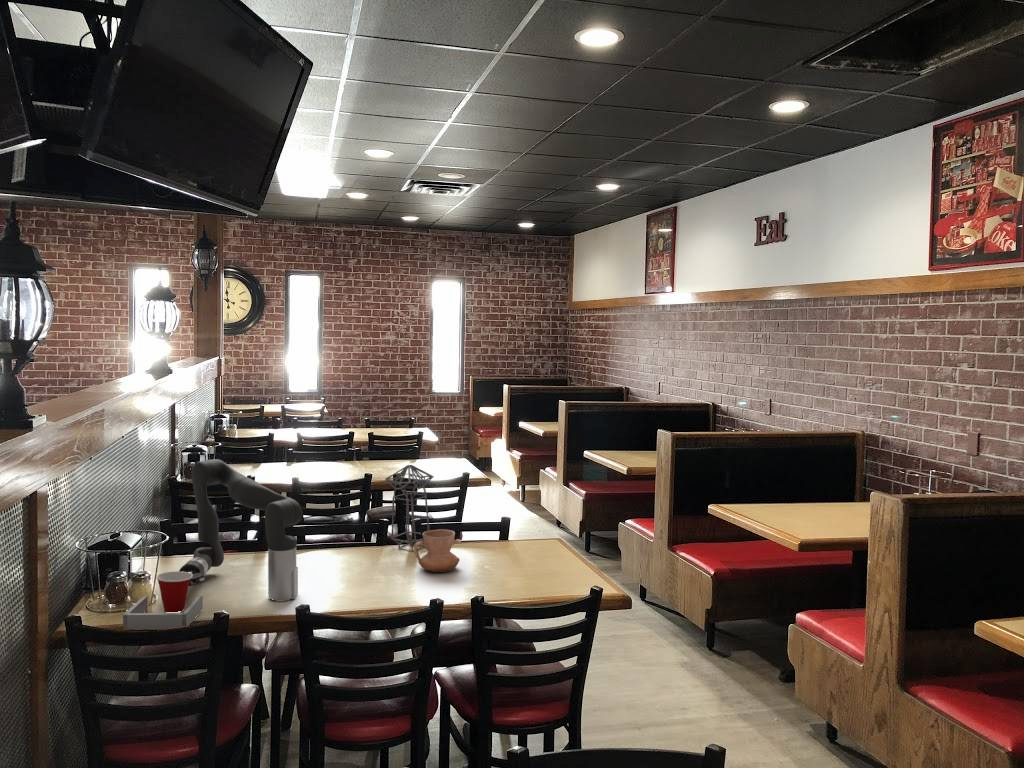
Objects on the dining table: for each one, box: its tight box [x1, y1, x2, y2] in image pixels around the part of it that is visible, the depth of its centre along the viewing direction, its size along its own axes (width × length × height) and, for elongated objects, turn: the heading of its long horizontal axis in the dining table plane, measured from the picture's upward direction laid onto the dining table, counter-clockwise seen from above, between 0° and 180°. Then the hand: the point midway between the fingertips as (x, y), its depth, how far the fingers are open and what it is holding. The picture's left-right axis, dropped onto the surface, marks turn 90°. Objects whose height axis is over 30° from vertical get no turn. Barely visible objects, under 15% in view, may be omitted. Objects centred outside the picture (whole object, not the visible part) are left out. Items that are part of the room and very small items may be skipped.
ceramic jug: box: [413, 529, 462, 573], centre depth 302 cm, size 18×14×14 cm
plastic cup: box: [156, 570, 193, 613], centre depth 255 cm, size 11×11×12 cm
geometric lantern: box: [384, 464, 435, 552], centre depth 329 cm, size 16×16×35 cm
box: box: [122, 595, 204, 630], centre depth 247 cm, size 18×16×5 cm
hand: (176, 587), depth 259 cm, fingers closed
